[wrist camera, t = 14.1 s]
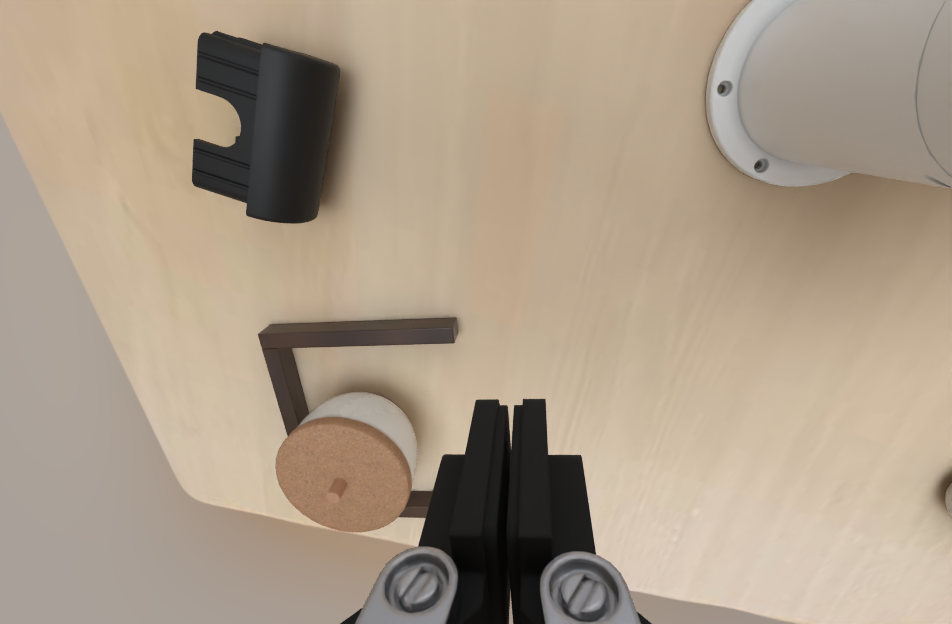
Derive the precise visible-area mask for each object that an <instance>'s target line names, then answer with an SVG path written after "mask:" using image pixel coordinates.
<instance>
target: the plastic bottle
mask: <svg viewBox="0 0 952 624" xmlns="http://www.w3.org/2000/svg"><path fill="white" fill-rule="evenodd" d="M945 502H946V508H947V512H948V514H949V515H950V517H951V518H952V483H951V484H950V485H949V487H948V489H947V491H946V494H945Z"/></svg>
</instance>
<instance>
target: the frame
mask: <svg viewBox="0 0 952 624" xmlns="http://www.w3.org/2000/svg"><path fill="white" fill-rule="evenodd" d="M457 334H458V327H457V319H456V318H436V319H409V320H381V321H354V322H327V323H299V324H272V325H269V326H268V327H266V328H265V329H264V330H263V331H261V332H260V333H259V334H258V336H259V340H260V343H261V347H262V350H263V354H264V357H265V361H266V364H267V367H268V371H269V374H270V378H271V381H272V384H273V388H274V391H275V395H276V398H277V401H278V405H279V408H280V412H281V415H282V418H283V422H284V425H285V429H286V432H287V435H288V436H289V435H290V433H291V432H292V431H293V430H295V429H296V428H297V426H298V425H299V424H300V423H301V422H302V421H303V419H304V418H305V417H306V416H307V415H308V414H309V413H308V409H307V405H306V402H305V398H304V394H303V390H302V387H301V383H300V379H299V375H298V372H297V368H296V364H295V360H294V357H293V353H292V349H291V348H307V347H342V346H377V345H411V344H446V343H455V340H456V337H457ZM432 493H433V492H418V491H411V492H410V497H409V500H408V502H407V505H406V507H405V509H404V510H403V512H402V513H401V514H400V516H398V517H413V518H426V516H427V512H428V508H429V504H430V501H431V497H432Z"/></svg>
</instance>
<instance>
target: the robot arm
mask: <svg viewBox="0 0 952 624" xmlns="http://www.w3.org/2000/svg"><path fill="white" fill-rule="evenodd" d="M719 85H722V86H723V92H722V93H721V94H719V93H718V92H717V88H718V86H719ZM706 113H707V119H708V123H709V127H710V131H711V135H712V137H713V139H714V141H715V143H716V145H717V147H718V149H719V150H720V152H721V153H722V154H723V155H724V156H725V158H726V159H727V160H728V161H729V162H730V163H731V164H732V165H733V166H734V167H736V168H737V169H738V170H740V171H741V172H742V173H744V174H746V175H748V176H750V177H752V178H755V179H757V180H759V181H762V182H766V183H770V184H773V185H780V186H789V187H801V186H814V185H818V184H822V183H826V182H830V181H834V180H836V179H839V178H841V177H844V176H846V175H848V174H851V173H853V172H855V173H861V174H867V175H873V176H878V177H884V178H890V179H896V180H902V181H908V182H913V183H919V184H925V185H931V186H937V187H943V188H949V189H952V0H751V1H750V2H749V3H748V4H747V5H746V6H745V7H744V8H743V10H742V11H741V12H740V13H739V14H738V16H737V17H736V19H735V20H734V21H733V23H732V24H731V26H730V27H729V28H728V30H727V31H726V33H725V35H724V37H723V39H722V41H721V43H720V45H719V47H718V49H717V51H716V53H715V56H714V59H713V62H712V66H711V69H710V72H709V75H708V83H707V90H706ZM757 161H759V166H758V167H757V168H754V165H755V163H756V162H757ZM510 589H511V601H512V613H513V624H651V623H650V622H649V621H648V620H646V619H645V618H644V617H643V616H641V615H640V614H639V613H638V612H637V611H636V609H635V606H634V603H633V600H632V598H631V595H630V592H629V590H628V587H627V584H626V582H625V581H624V579H623V577H622V575H621V573H620V572H619V571H618V570H617V569H616V568H615V567H614V566H613V565H612V564H611V563H610V562H609V561H607V560H605V559H604V558H602V557H600V556H598V555H596V552H595V545H594V538H593V531H592V524H591V517H590V510H589V503H588V497H587V490H586V483H585V476H584V469H583V462H582V457H581V455H548V444H547V422H546V401H545V399H523V405H514V416H513V432H512V448H511V443H510V430H509V416H508V406H507V405H500V404H499V400H498V399H496V400H476V402H475V407H474V412H473V417H472V422H471V427H470V432H469V437H468V442H467V447H466V452H465V455H451V454H444V456H443V457H442V460H441V463H440V467H439V470H438V474H437V478H436V482H435V486H434V489H433V493H432V497H431V501H430V504H429V508H428V512H427V516H426V519H425V523H424V527H423V531H422V534H421V538H420V542H419V546H418V547H415V548H410V549H407V550H405V551H403V552H401V553H399V554H397V555H396V556H395V557H393V558H392V559H391V560H390V561H389V562H388V563H387V564H386V565H385V567H384V568H383V570H382V571H381V572H380V574H379V576H378V578H377V580H376V582H375V584H374V586H373V588H372V590H371V592H370V594H369V596H368V598H367V600H366V602H365V604H364V606H363V608H362V609H360V610H359V611H357V612H356V613H355V614H353V615H352V616H350V617H349V618H348V619H346V620H345V621H343V622H342V623H341V624H509V606H510Z"/></svg>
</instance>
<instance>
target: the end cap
mask: <svg viewBox="0 0 952 624" xmlns="http://www.w3.org/2000/svg"><path fill="white" fill-rule="evenodd" d="M339 77H340V68H339V67H338V66H337V65H335V64H333V63H330V62H327V61H325V60H322V59H319V58H316V57H313V56H310V55H306V54H303V53H299V52H295V51H292V50H288V49H285V48H281V47H277V46H274V45H270V44H267V43H263V45H261V44H258V43H255V42H252V41H249V40H246V39H243V38H236V37H233V36H230V35H227V34H224V33H221V32H218V31H215V32H213V33H212V34H209V33H202V34H201V35H200V36H199V39H198V49H197V73H196V89H198V90H201V91H204V92H207V93H210V94H213V95H216V96H219V97H222V98H224V99H225V100H227V101H228V102H229V103H231V104H232V105H233V107H234V108H235V109H236V111H237V113H238V115H239V118H240V121H241V133H240V136H236V143H235V144H234V145H232V146H230V147H222V146H219V145H216V144H212V143H209V142H206V141H203V140H200V139H194V145H193V169H192V182H193V184H194V186H196V187H199V188H202V189H205V190H208V191H211V192H214V193H217V194H220V195H223V196H226V197H229V198H233V199H236V200H239V201H242V202H245V203H247V209H246V215H247V216H249V217H253V218H256V219H260V220H265V221H271V222H278V223H305V222H309V221H312V220H313V219H315V218H316V217H317V215H318V210H319V203H320V197H321V191H322V184H323V178H324V172H325V165H326V159H327V153H328V146H329V140H330V134H331V127H332V121H333V115H334V108H335V102H336V96H337V89H338V83H339Z"/></svg>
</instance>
